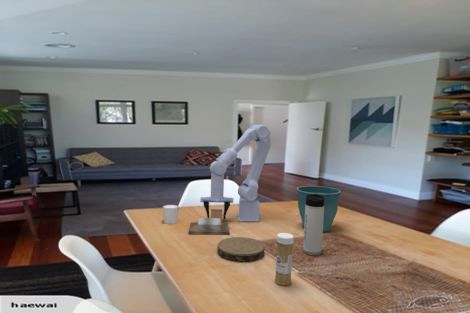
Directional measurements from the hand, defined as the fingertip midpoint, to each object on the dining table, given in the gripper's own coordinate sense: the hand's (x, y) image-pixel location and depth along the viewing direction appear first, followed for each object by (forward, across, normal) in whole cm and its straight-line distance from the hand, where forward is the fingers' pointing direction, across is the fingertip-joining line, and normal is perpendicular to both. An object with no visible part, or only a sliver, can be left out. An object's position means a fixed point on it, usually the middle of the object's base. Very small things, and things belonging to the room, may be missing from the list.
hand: (216, 218), depth 146 cm
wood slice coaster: (+2, +8, -36) cm, 37 cm away
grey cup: (+2, -20, -2) cm, 20 cm away
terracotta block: (+2, 0, 0) cm, 2 cm away
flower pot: (+2, +43, -8) cm, 44 cm away
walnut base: (+1, -3, -12) cm, 12 cm away
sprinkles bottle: (+2, +18, -57) cm, 60 cm away
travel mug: (+2, +33, -35) cm, 48 cm away
